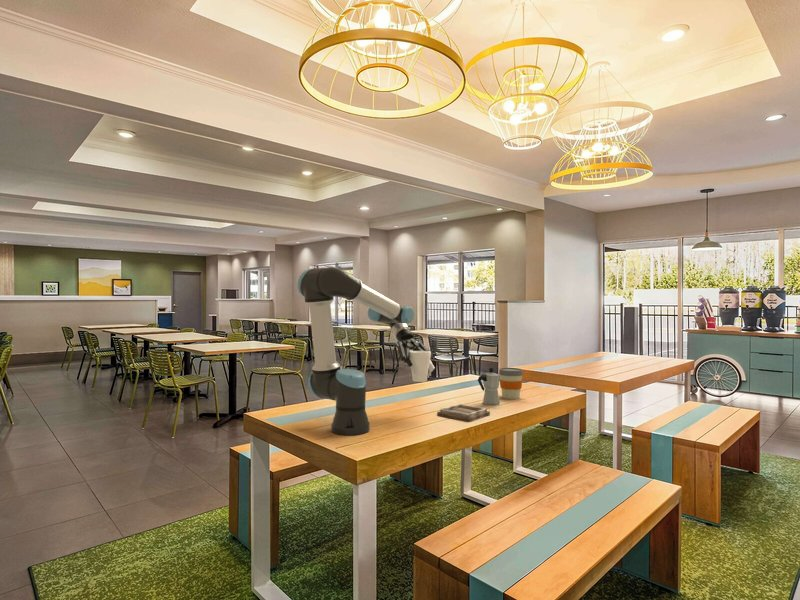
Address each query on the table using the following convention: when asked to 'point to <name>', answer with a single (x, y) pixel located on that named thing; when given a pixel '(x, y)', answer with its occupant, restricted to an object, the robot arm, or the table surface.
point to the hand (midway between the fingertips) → (424, 370)
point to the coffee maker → (490, 387)
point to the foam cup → (420, 365)
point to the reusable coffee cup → (510, 382)
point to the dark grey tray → (463, 412)
